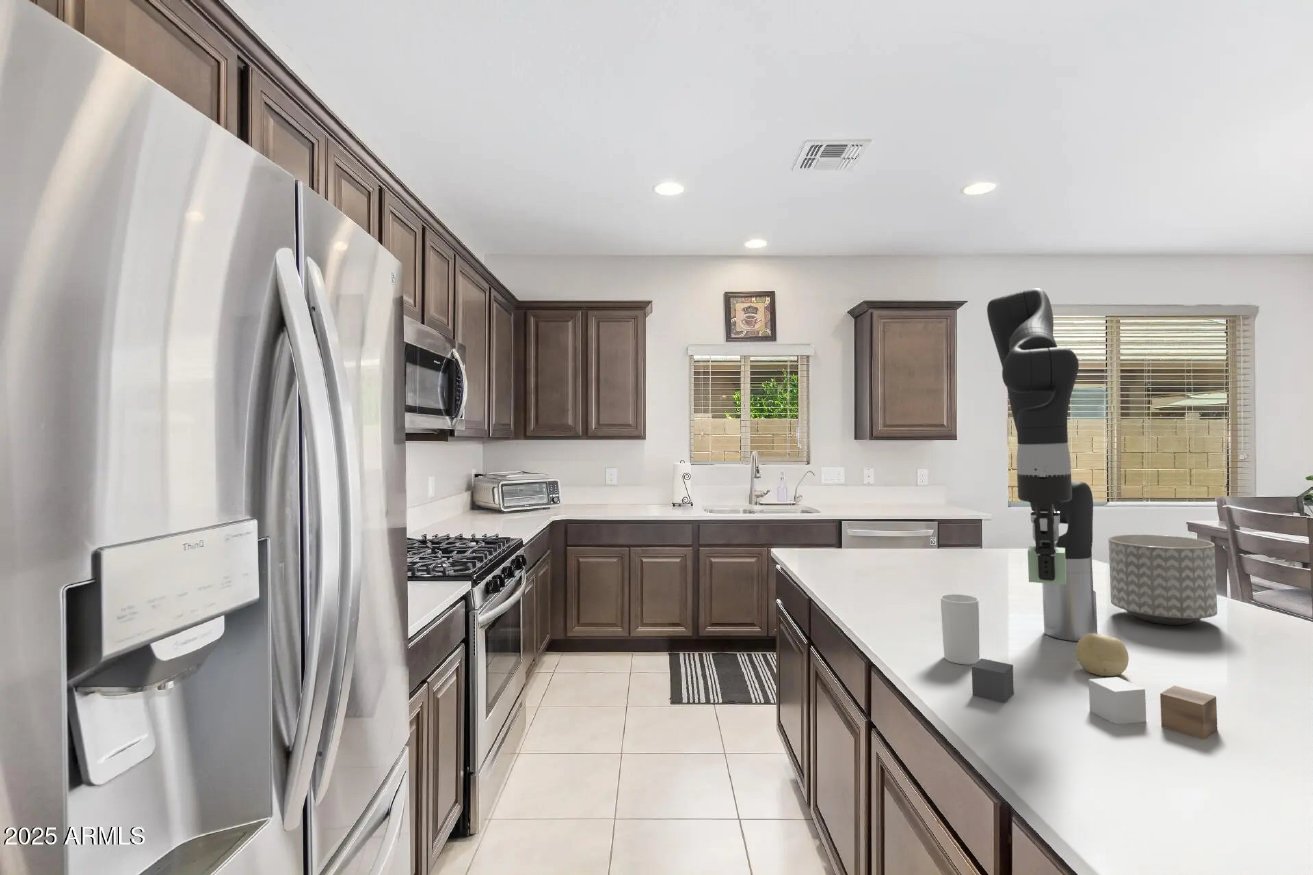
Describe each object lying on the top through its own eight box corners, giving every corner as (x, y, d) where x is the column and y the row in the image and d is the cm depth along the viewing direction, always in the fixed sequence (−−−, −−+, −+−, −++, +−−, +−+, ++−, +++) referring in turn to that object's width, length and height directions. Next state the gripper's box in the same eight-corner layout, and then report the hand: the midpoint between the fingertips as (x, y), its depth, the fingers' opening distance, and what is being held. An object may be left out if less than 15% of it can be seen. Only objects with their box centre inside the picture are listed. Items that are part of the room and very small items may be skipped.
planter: (1208, 614, 148) (1205, 536, 148) (1226, 637, 132) (1223, 550, 132) (1108, 605, 158) (1105, 532, 158) (1114, 625, 142) (1111, 544, 142)
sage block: (1030, 575, 106) (1029, 545, 106) (1066, 578, 103) (1065, 547, 103) (1028, 581, 102) (1027, 550, 102) (1065, 584, 99) (1064, 553, 99)
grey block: (1118, 708, 101) (1117, 676, 101) (1146, 722, 96) (1145, 688, 96) (1089, 710, 100) (1088, 679, 100) (1116, 724, 95) (1114, 691, 95)
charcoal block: (982, 686, 111) (981, 658, 111) (1013, 694, 107) (1012, 664, 107) (972, 695, 107) (971, 666, 107) (1005, 703, 104) (1003, 673, 104)
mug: (974, 668, 119) (972, 604, 120) (937, 660, 124) (935, 599, 124) (990, 653, 127) (987, 593, 127) (954, 647, 131) (952, 589, 132)
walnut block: (1175, 718, 96) (1174, 685, 96) (1217, 730, 92) (1216, 696, 92) (1161, 727, 94) (1160, 693, 94) (1204, 739, 90) (1202, 704, 90)
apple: (1069, 671, 115) (1064, 629, 119) (1095, 682, 118) (1089, 640, 122) (1115, 670, 109) (1108, 625, 112) (1142, 681, 112) (1134, 637, 115)
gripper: (1020, 469, 111) (1024, 566, 111) (1013, 474, 99) (1017, 583, 99) (1071, 468, 107) (1075, 569, 107) (1070, 474, 95) (1075, 588, 95)
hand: (1047, 575), depth 103 cm, fingers closed on sage block, 5 cm apart
